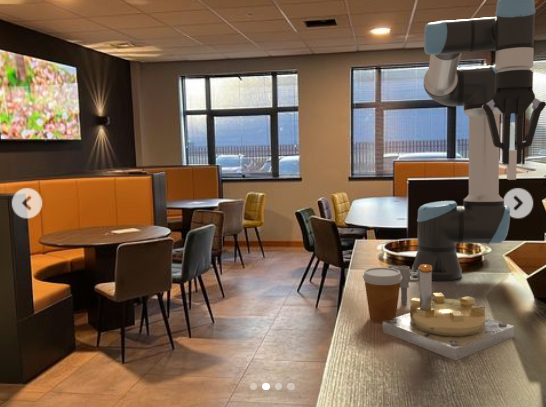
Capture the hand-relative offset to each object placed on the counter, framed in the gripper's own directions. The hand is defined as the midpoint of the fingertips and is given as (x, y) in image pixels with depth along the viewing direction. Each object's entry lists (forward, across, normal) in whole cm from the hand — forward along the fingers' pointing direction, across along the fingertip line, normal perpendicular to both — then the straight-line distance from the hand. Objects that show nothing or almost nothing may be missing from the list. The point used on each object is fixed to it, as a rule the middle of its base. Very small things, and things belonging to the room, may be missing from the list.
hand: (511, 179), depth 116 cm
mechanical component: (+35, +23, -14) cm, 44 cm away
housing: (+34, +14, +6) cm, 38 cm away
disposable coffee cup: (+35, +28, -1) cm, 45 cm away
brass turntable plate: (+32, +14, +6) cm, 35 cm away
